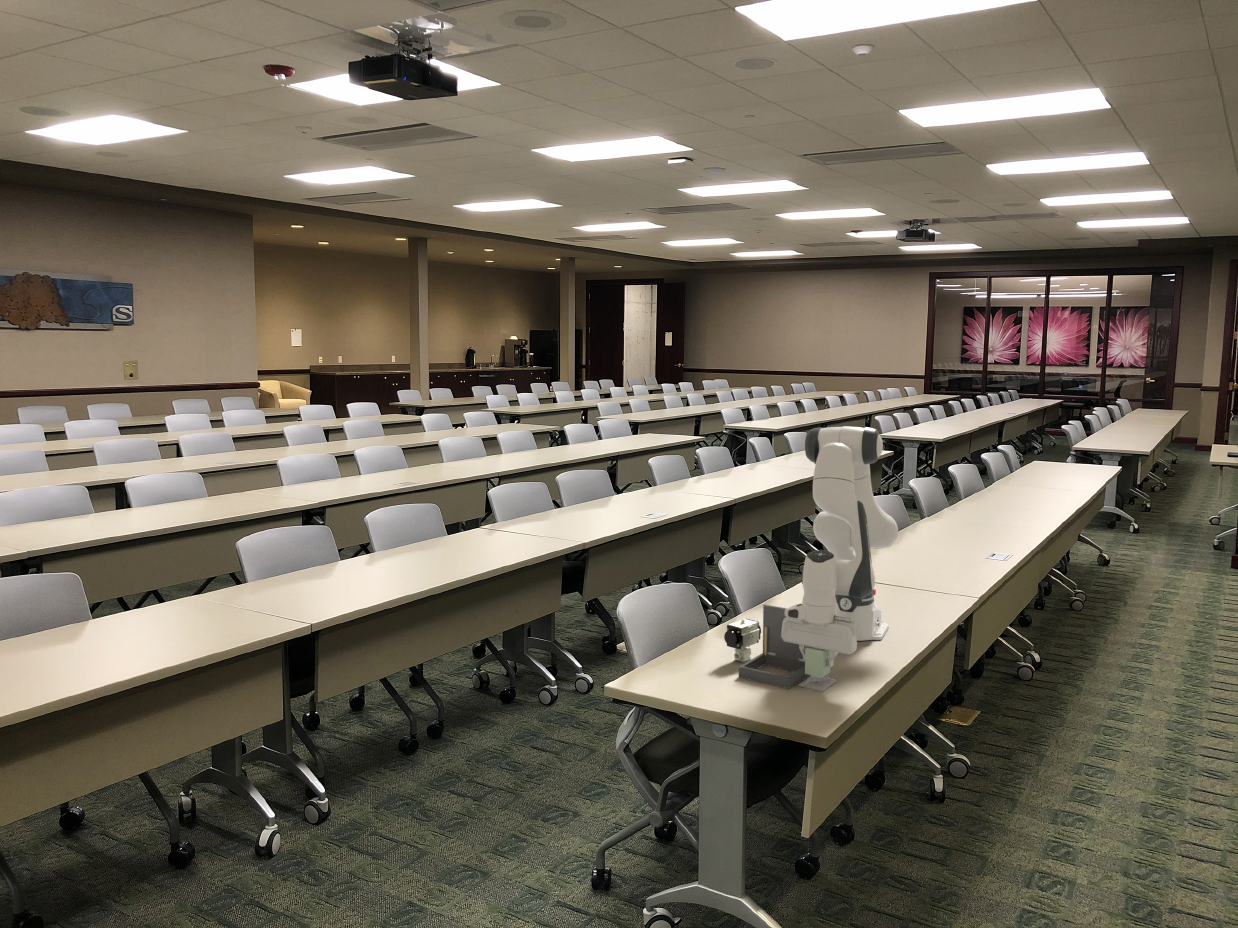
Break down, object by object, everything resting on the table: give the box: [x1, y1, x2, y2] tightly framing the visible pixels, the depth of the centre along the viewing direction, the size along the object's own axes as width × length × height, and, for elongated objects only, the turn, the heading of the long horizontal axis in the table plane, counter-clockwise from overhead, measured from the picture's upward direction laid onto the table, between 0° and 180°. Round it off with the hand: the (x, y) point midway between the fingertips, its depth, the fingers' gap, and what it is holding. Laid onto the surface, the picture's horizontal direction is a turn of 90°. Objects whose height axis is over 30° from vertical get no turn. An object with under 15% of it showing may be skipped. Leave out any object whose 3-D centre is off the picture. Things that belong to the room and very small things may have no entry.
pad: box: [797, 675, 838, 693], centre depth 239 cm, size 9×7×1 cm
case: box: [738, 604, 810, 690], centre depth 245 cm, size 15×15×17 cm
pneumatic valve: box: [723, 618, 762, 663], centre depth 257 cm, size 6×12×12 cm, turn 135°
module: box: [805, 646, 831, 678], centre depth 238 cm, size 5×5×8 cm
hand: (817, 663), depth 238 cm, fingers closed on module, 5 cm apart
